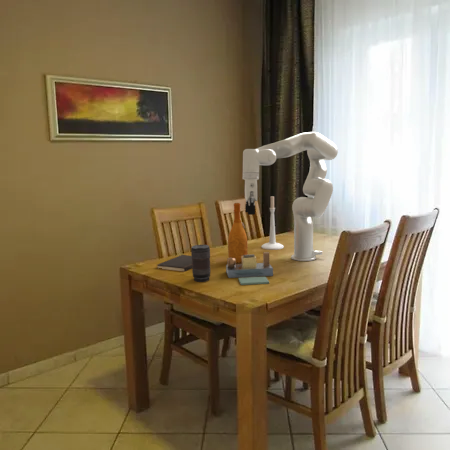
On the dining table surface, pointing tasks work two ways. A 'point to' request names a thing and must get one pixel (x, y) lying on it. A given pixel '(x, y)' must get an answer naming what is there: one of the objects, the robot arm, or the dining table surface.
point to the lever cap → (249, 261)
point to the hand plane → (239, 271)
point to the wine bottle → (237, 237)
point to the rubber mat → (253, 280)
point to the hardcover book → (177, 263)
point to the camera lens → (200, 262)
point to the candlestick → (272, 231)
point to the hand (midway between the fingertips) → (249, 213)
